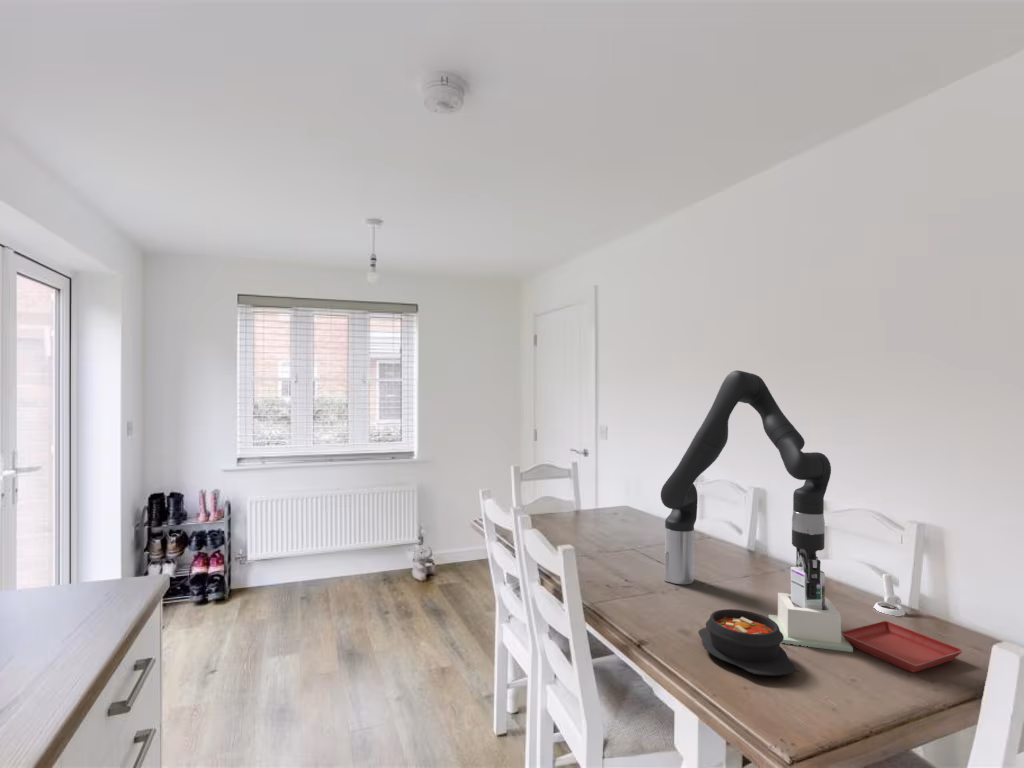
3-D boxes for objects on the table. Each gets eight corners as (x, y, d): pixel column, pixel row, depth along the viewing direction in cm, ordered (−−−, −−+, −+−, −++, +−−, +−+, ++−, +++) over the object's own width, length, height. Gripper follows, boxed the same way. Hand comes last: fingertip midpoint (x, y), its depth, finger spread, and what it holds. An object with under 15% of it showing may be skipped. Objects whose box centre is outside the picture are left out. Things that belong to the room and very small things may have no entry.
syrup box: (805, 630, 139) (805, 573, 139) (789, 620, 145) (790, 565, 145) (825, 629, 140) (825, 572, 140) (809, 619, 145) (809, 564, 146)
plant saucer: (916, 679, 120) (916, 664, 120) (838, 644, 137) (838, 631, 137) (964, 664, 127) (964, 650, 127) (885, 632, 144) (885, 620, 144)
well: (780, 643, 136) (780, 611, 136) (768, 618, 152) (768, 589, 152) (852, 652, 132) (853, 618, 132) (832, 625, 148) (832, 595, 148)
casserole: (817, 679, 119) (817, 640, 119) (742, 688, 115) (743, 648, 115) (744, 630, 144) (744, 598, 144) (680, 637, 139) (680, 603, 139)
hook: (888, 584, 166) (904, 577, 160) (896, 625, 159) (913, 619, 153) (863, 578, 166) (878, 571, 161) (870, 618, 159) (886, 613, 154)
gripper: (786, 521, 150) (785, 581, 150) (798, 534, 136) (798, 601, 136) (816, 523, 148) (815, 584, 148) (832, 537, 135) (831, 604, 134)
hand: (807, 592), depth 142 cm, fingers closed on syrup box, 7 cm apart
